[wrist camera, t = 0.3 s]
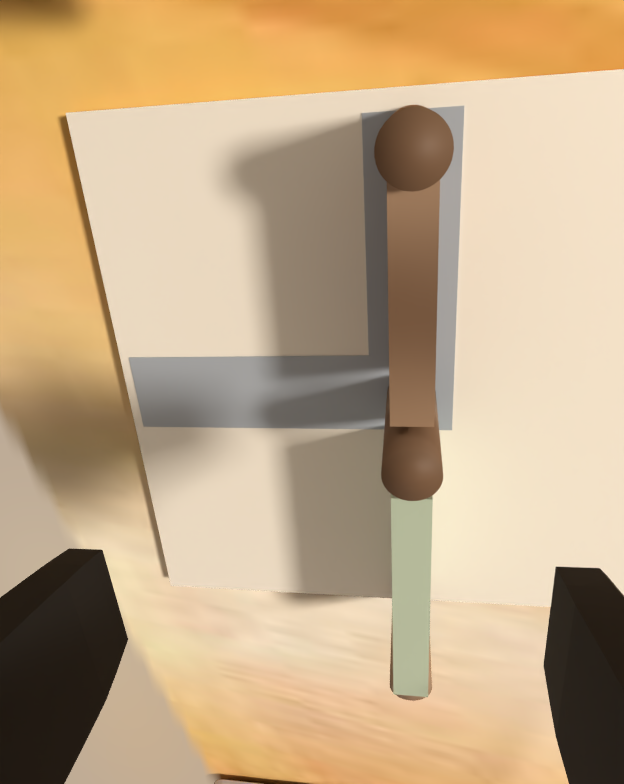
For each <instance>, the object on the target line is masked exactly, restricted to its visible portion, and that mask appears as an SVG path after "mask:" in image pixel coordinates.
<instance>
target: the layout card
mask: <svg viewBox="0 0 624 784" xmlns="http://www.w3.org/2000/svg"><path fill="white" fill-rule="evenodd" d="M408 105H421V106H424V107H426V108H428V109H430V110H432V111H434V112H436V113H437V114H439V115H440V116H441V117H442V118H443V119H444V120H445V121H446V123H447V124H448V126H449V128H450V130H451V132H452V136H453V141H454V152H453V158H452V161H451V164H450V166H449V168H448V170H447V171H446V173H445V174H444V176H443V177H442V178H441V179H440V208H439V250H438V293H437V336H436V379H435V391H436V401H437V412H438V423H439V433H440V444H441V455H442V466H443V482H442V485H441V487H440V488H439V490H438V491H437V492H436V493H435V494H434V495H432V497H433V507H432V550H431V593H430V600H434V601H452V602H470V603H488V604H506V605H524V606H542V607H551V601H552V593H553V585H554V576H555V568H556V567H582V568H600V569H601V570H602V571H603V572H604V573H605V574H606V575H607V576H608V577H609V578H610V580H611V581H612V582H613V583H614V584H615V586H616V587H617V588H618V589H619V590H620V592H621V593H622V594H623V595H624V69H620V70H607V71H594V72H582V73H569V74H556V75H543V76H531V77H518V78H505V79H492V80H480V81H467V82H454V83H441V84H429V85H416V86H403V87H390V88H378V89H365V90H352V91H339V92H327V93H314V94H301V95H288V96H276V97H263V98H250V99H237V100H225V101H212V102H199V103H186V104H174V105H161V106H148V107H135V108H123V109H110V110H97V111H84V112H72V113H66V117H67V122H68V126H69V130H70V135H71V139H72V144H73V148H74V153H75V157H76V162H77V166H78V171H79V175H80V180H81V184H82V189H83V193H84V198H85V202H86V207H87V211H88V216H89V220H90V225H91V229H92V234H93V238H94V243H95V247H96V252H97V256H98V261H99V265H100V270H101V274H102V279H103V283H104V288H105V292H106V297H107V301H108V306H109V310H110V315H111V319H112V324H113V328H114V333H115V337H116V342H117V346H118V351H119V355H120V359H121V364H122V368H123V373H124V377H125V382H126V386H127V391H128V395H129V400H130V404H131V409H132V413H133V418H134V422H135V427H136V431H137V436H138V440H139V445H140V449H141V454H142V458H143V463H144V467H145V472H146V476H147V481H148V485H149V490H150V494H151V499H152V503H153V508H154V512H155V517H156V521H157V526H158V530H159V535H160V539H161V544H162V548H163V553H164V557H165V562H166V566H167V571H168V575H169V580H170V584H171V586H183V587H201V588H219V589H237V590H255V591H273V592H291V593H309V594H327V595H344V596H362V597H380V598H392V548H391V493H389V492H388V491H387V489H386V488H385V487H384V485H383V483H382V479H381V468H382V454H383V440H384V427H385V413H386V399H387V389H388V386H389V322H388V246H387V182H386V181H385V180H384V178H383V177H382V176H381V174H380V173H379V171H378V169H377V166H376V163H375V158H374V146H375V141H376V138H377V135H378V133H379V130H380V129H381V127H382V126H383V124H384V123H385V122H386V121H387V120H388V119H389V118H390V117H391V116H392V115H393V113H395V112H396V111H397V110H399V109H400V108H402V107H404V106H408Z"/></svg>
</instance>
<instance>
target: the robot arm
mask: <svg viewBox="0 0 624 784" xmlns="http://www.w3.org/2000/svg"><path fill="white" fill-rule="evenodd" d="M127 641H128V638H127V634H126V631H125V627H124V624H123V620H122V617H121V613H120V610H119V606H118V603H117V599H116V596H115V592H114V589H113V585H112V582H111V579H110V575H109V572H108V568H107V565H106V561H105V558H104V554H103V551H102V550H91V549H68V550H66V551H65V552H63V553H62V554H60V555H59V556H57V557H56V558H54V559H53V560H51V561H50V562H48V563H47V564H46V565H44V566H43V567H41V568H40V569H39V570H37V571H36V572H35V573H33V574H32V575H30V576H29V577H28V578H26V579H25V580H23V581H22V582H21V583H19V584H18V585H17V586H15V587H14V588H13V589H11V590H10V591H9V592H7V593H6V594H5V595H3V596H2V597H1V598H0V784H64V783H65V781H66V779H67V777H68V775H69V773H70V771H71V769H72V767H73V765H74V763H75V762H76V760H77V758H78V756H79V754H80V752H81V750H82V748H83V746H84V744H85V742H86V740H87V738H88V736H89V734H90V732H91V730H92V727H93V726H94V723H95V721H96V720H97V718H98V716H99V714H100V711H101V709H102V707H103V705H104V703H105V701H106V699H107V696H108V694H109V691H110V688H111V686H112V683H113V680H114V678H115V675H116V673H117V669H118V667H119V664H120V661H121V658H122V655H123V652H124V649H125V646H126V644H127ZM544 670H545V676H546V682H547V688H548V694H549V700H550V706H551V712H552V717H553V723H554V728H555V734H556V738H557V742H558V746H559V749H560V753H561V757H562V760H563V764H564V767H565V771H566V774H567V778H568V781H569V784H624V595H623V594H622V593H621V592H620V590H619V589H618V588H617V587H616V586H615V584H614V583H613V582H612V581H611V580H610V578H609V577H608V576H607V575H606V574H605V573H604V572H603V571H602V570H601V569H600V568H582V567H556V568H555V576H554V585H553V593H552V601H551V609H550V617H549V626H548V634H547V642H546V650H545V658H544ZM214 784H262V783H252V782H243V781H234V780H225V779H220V780H217V781H216V782H215V783H214Z"/></svg>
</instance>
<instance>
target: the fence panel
mask: <svg viewBox="0 0 624 784" xmlns="http://www.w3.org/2000/svg"><path fill="white" fill-rule="evenodd" d="M432 507H433V497H432V496H431V497H429V498H427V499H424V500H420V501H406V500H402V499H399V498H397V497H395V496H393V495H392V494H391V548H392V633H391V664H390V688H391V690H392V692H393V694H395V695H397V696H398V697H400V698H402V699H406V700H420V699H423V698H425V697H428V695H429V694H430V692H431V690H432V680H431V655H430V593H431V550H432Z"/></svg>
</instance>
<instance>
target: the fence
mask: <svg viewBox="0 0 624 784" xmlns="http://www.w3.org/2000/svg"><path fill="white" fill-rule="evenodd" d="M453 152H454V141H453V136H452V132H451V130H450V128H449V126H448V124H447V123H446V121H445V120H444V119H443V118H442V117H441V116H440V115H439V114H437V113H436V112H434V111H432V110H430V109H428V108H426V107H424V106H421V105H408V106H404V107H402V108H400V109H399V110H397V111H396V112H395V113H393V115H392V116H391V117H390V118H389V119H388V120H387V121H386V122H385V123H384V124H383V126H382V127H381V129H380V130H379V133H378V135H377V138H376V141H375V146H374V158H375V163H376V166H377V169H378V171H379V173H380V174H381V176H382V177H383V178H384V180H385V181H386V182H387V246H388V322H389V386H388V389H387V399H386V413H385V427H384V440H383V454H382V468H381V479H382V483H383V485H384V487H385V488H386V489H387V491H388V492H389V493H391V494H392V495H393V496H395V497H397V498H399V499H402V500H406V501H420V500H424V499H427V498H429V497H431V496H432V495H434V494H435V493H436V492H437V491H438V490H439V488H440V487H441V485H442V482H443V466H442V455H441V444H440V433H439V423H438V412H437V401H436V391H435V379H436V336H437V293H438V250H439V208H440V179H441V178H442V177H443V176H444V174H445V173H446V171H447V170H448V168H449V166H450V164H451V161H452V158H453Z"/></svg>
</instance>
